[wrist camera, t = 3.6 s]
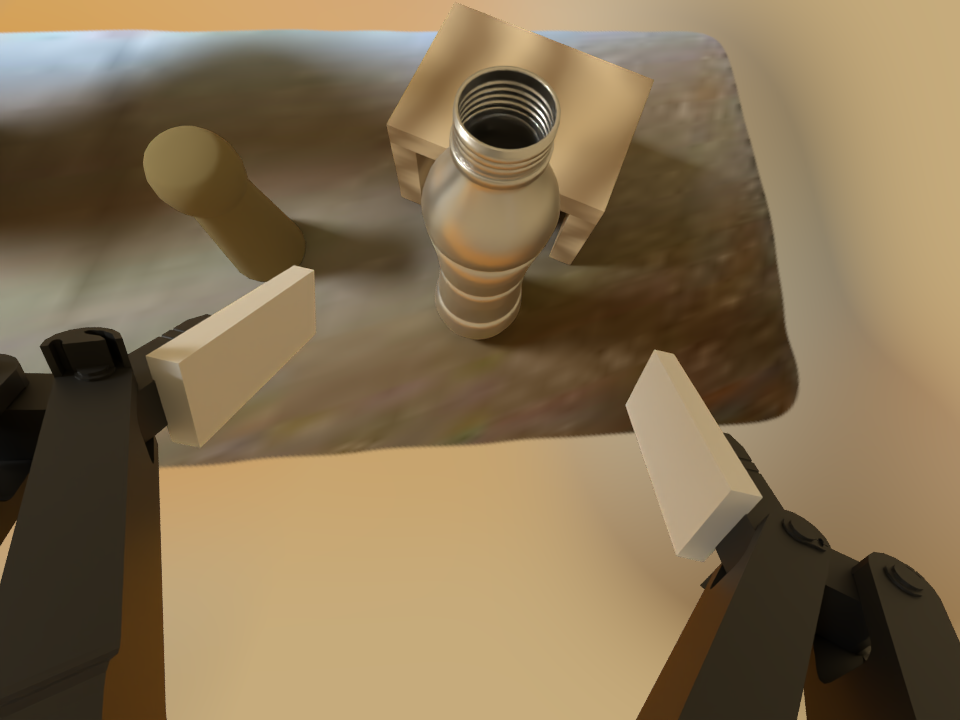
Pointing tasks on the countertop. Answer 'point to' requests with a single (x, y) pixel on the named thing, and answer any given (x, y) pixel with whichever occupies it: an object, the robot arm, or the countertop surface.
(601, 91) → the birch shelf
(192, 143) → the cork
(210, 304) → the countertop surface
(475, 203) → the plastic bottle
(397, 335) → the countertop surface
